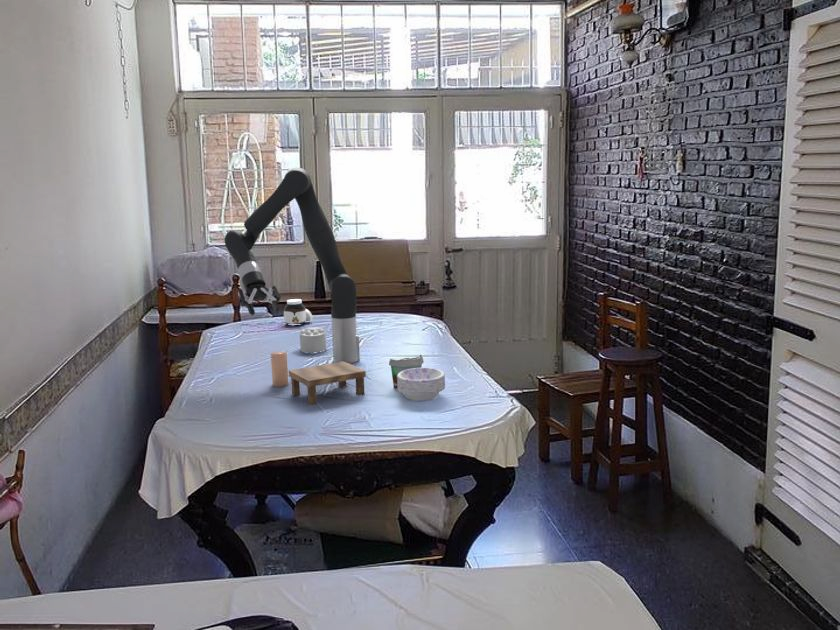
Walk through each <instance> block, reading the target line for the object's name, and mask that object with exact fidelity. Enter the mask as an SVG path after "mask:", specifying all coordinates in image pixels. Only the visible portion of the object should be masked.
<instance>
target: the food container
mask: <svg viewBox="0 0 840 630" xmlns="http://www.w3.org/2000/svg"><path fill="white" fill-rule="evenodd" d="M424 363H425V361H424V358H423V355H422V354H419V356H417V357H404V358H402V359H401V358H400V359H393V358H389V363H388V366H390V370H391V377H392V385H393V388H394V389H397V390H398V383H397V375H398V373H399V372H401V371H403V370H407V369H412V368H423V367H422V366H423V364H424Z"/></svg>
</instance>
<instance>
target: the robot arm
mask: <svg viewBox="0 0 840 630" xmlns="http://www.w3.org/2000/svg"><path fill="white" fill-rule="evenodd" d="M293 200H295V201H296V203H297V205H298V209H299V212H300V216H301V219H302V225H303V228H304V232H305V234H306V237H307V239H308V241H309V244H310V246H311V248H312V249H313V250H312V251H313V252H314V254H315V256H316V257H317V259H318V261H319V263H320V265H321V267H322V269H323V272H324V275H325V278H326V281H327V286H328V288H329V291H330V293H331V311H330V312H331V313H330V315H331V317H330V318H331V335H332V336H331V337H332V357H333V363H336V362H342V361H344V362H346V363H349V364H351V363H356V362H358V361H361V358H360V356H361V355H360V354H361V353H360V337H359V335H357V307H358V306H357V285H356V283H355V280H354V279H353V278H352V277H351V276H349V273H348V272H347V270H346V268H345V266H344V265H343V262H342V260H341V258H340V253H339V249H338V245H337V242H336V238H335V235H334V232H333V230H332V228H331V225H330V222H329V220H328V219H327V216H326V215H325V212H324V211H323V208H322V207H321V205H320V203H319V201H318V198H317V195H316V192H315V190H314V185H313V183H312V178H311V175H310V174H309V173H308V171H306V170H305V169H304V168H301V167H294V168H291V169H290V170H289V171H287V172H286V174H285V175H284V178H283V179H282V180H281V182H280V183H279V185H278V186H277V187H276V189H275V190H274V192H273V193H272V194H271V195H270V196H269V197H268V198H267V199H266V200H265V201H264V202H263V203H262V204H260V205H259V206H258V207H257V208H256V209H255V210H254V211H253V213H251V215H249V217H247V219H246V220H245V221H244V223H243V225H244V226H243V227H244V228H245V229H246V231H245V233H242V232H240V231H239V230H235V229H232V230H229V231H228V232H227V233H226V235H225V236H224V245H225V248H226V250H227V251H228V253H229V254H230V256H231V257H232V258H233V260H234V262H235V264H236V267H237V270H238V273H239V278H240V280H241V283H242V285H243V288H244V290H243V289H241V288H239V289H238V292H237V298H238V300H239V305H240V307H242V308H243V307H244V308H245V307H246V308H247V310H248V314H249V315H251V316H252V317H253V316H255V314H256V310H255V308H254V305H253V301H255V302H259V301H265V302H267V303H269V304H271V307H272V310H273V312H274V313H275V314H276V313H278V311H279V310H280V306H279V303H280V300H281V295H280V292H279V291H278V288H277V287H276V285H273V286H272V287H268V286H267V284H266V281H265V279H264V277H263V274H262V271H261V268H260V267H259V265H258V262H257V260H256V257H255V255H254V253H253V252H252V251H251V250H252V249H253V247H254V246H255V244H256V242H257V241H258V239H259V237H260V235H261V233H262V232H263V231H265V230H266V228H267V227H268V226H270V224H271V223H272V222H273V220H275V218H276V217H277V216H278V215H279V213H281V211H283V209H284V208H285V207H287V205H288V204H289V203H290V202H292V201H293ZM245 295H246V296H247V297H248V300H246V299H245Z"/></svg>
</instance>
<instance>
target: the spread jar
mask: <svg viewBox="0 0 840 630" xmlns="http://www.w3.org/2000/svg"><path fill="white" fill-rule="evenodd" d="M302 301H303V300H302V299H300V298H294V299H287V300H286V305H285V307H284V309H283V321H284V322H285V324H286V325H287V324H303V323H304V324H305V323H306V322H305V321H310V322H311V321H312V320H313V314H312V312H311V311H310V310H309V309H307V308H306V306H305V305H304V304H303V302H302ZM304 324H303V325H304Z"/></svg>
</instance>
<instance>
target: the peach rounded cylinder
mask: <svg viewBox="0 0 840 630" xmlns="http://www.w3.org/2000/svg"><path fill="white" fill-rule="evenodd" d="M270 364H271V380H272V386H273V387H276V386H277V387H278V388H279V387H281V388H282V387H286V386H289V370H288V367H289V366H288V354H287V351H273V352H270ZM277 387H276V388H277Z"/></svg>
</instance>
